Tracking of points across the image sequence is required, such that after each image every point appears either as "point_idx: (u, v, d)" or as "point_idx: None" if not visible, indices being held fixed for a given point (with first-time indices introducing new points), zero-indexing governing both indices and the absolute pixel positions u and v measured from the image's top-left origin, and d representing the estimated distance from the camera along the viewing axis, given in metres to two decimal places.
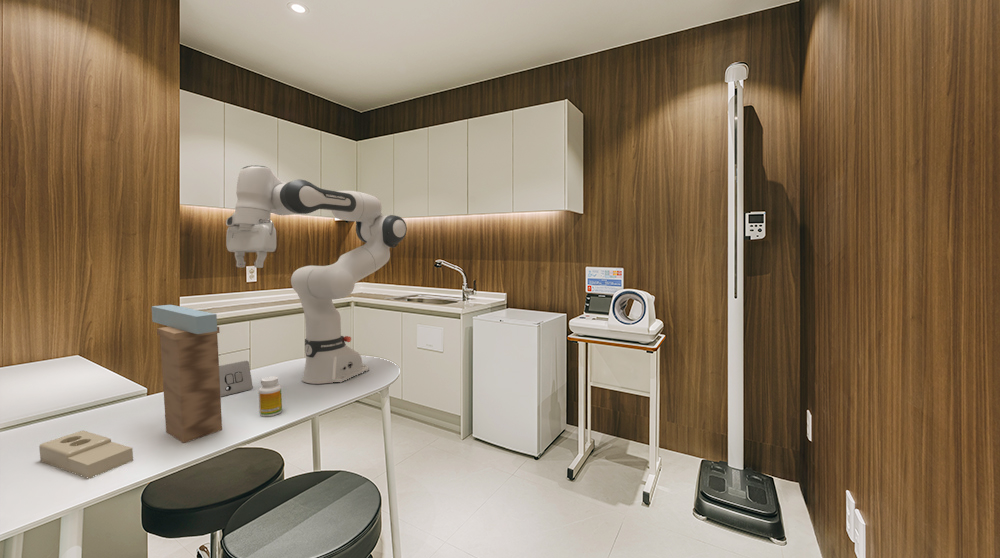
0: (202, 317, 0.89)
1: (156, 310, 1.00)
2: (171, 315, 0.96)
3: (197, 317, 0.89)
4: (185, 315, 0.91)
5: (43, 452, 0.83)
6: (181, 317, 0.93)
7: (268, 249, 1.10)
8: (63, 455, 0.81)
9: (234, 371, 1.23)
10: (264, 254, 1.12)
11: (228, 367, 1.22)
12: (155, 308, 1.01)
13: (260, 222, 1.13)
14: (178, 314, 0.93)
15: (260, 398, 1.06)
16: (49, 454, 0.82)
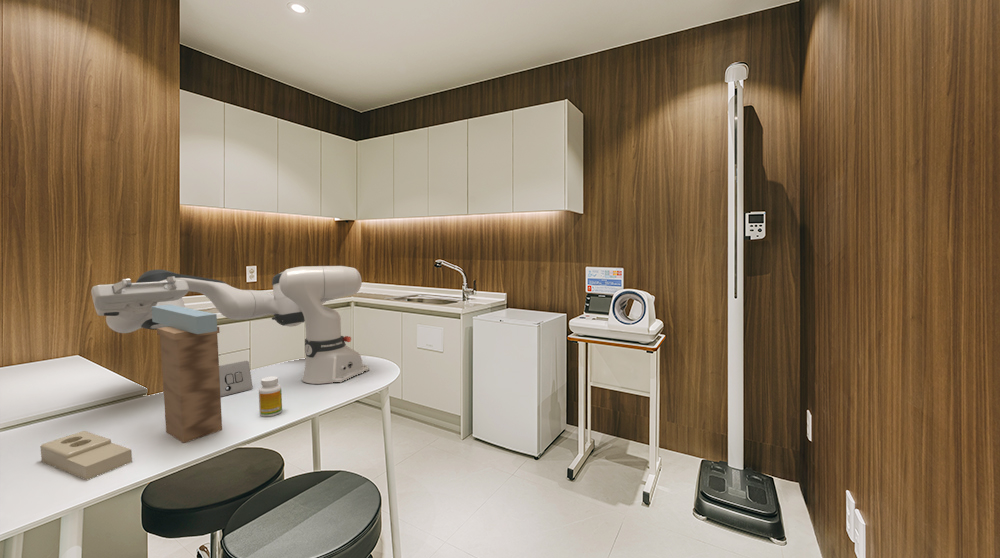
0: (202, 317, 0.89)
1: (156, 310, 1.00)
2: (171, 315, 0.96)
3: (197, 317, 0.89)
4: (185, 315, 0.91)
5: (44, 452, 0.83)
6: (181, 317, 0.93)
7: (187, 284, 1.18)
8: (62, 456, 0.80)
9: (234, 371, 1.23)
10: None
11: (228, 367, 1.22)
12: (155, 308, 1.01)
13: None
14: (178, 314, 0.93)
15: (260, 398, 1.06)
16: (49, 454, 0.82)
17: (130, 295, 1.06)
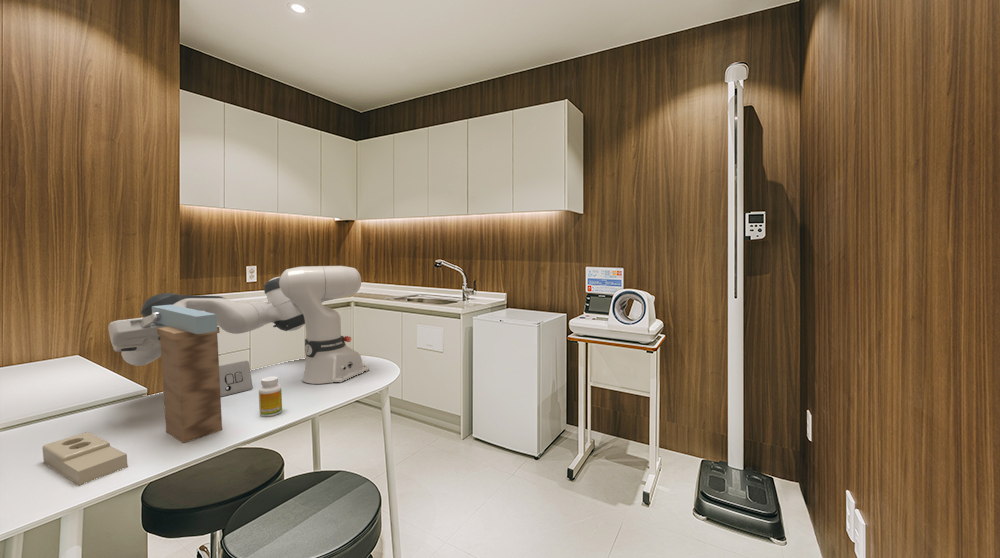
0: (202, 317, 0.89)
1: (156, 310, 1.00)
2: (171, 315, 0.96)
3: (197, 317, 0.89)
4: (185, 315, 0.91)
5: (45, 453, 0.83)
6: (181, 317, 0.93)
7: None
8: (60, 459, 0.79)
9: (234, 371, 1.23)
10: None
11: (228, 367, 1.22)
12: (155, 308, 1.01)
13: None
14: (178, 314, 0.93)
15: (260, 398, 1.06)
16: (49, 456, 0.82)
17: (149, 330, 1.00)
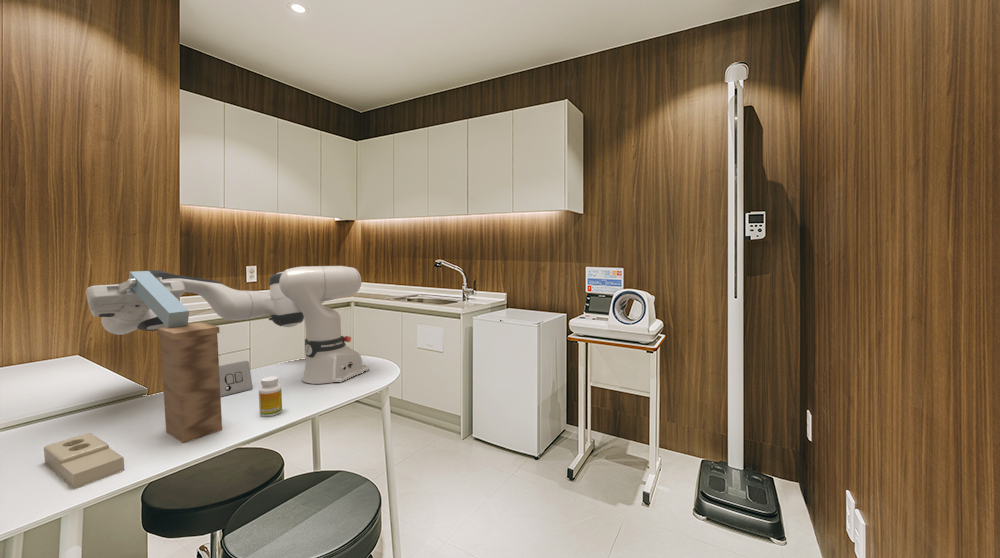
0: (175, 313, 0.95)
1: None
2: (147, 294, 1.01)
3: (170, 313, 0.94)
4: (159, 304, 0.97)
5: (46, 454, 0.82)
6: (155, 303, 0.98)
7: (183, 284, 1.17)
8: (58, 460, 0.79)
9: (234, 371, 1.23)
10: None
11: (228, 367, 1.22)
12: (133, 276, 1.05)
13: None
14: (153, 298, 0.99)
15: (260, 398, 1.06)
16: (49, 457, 0.81)
17: (125, 296, 1.05)
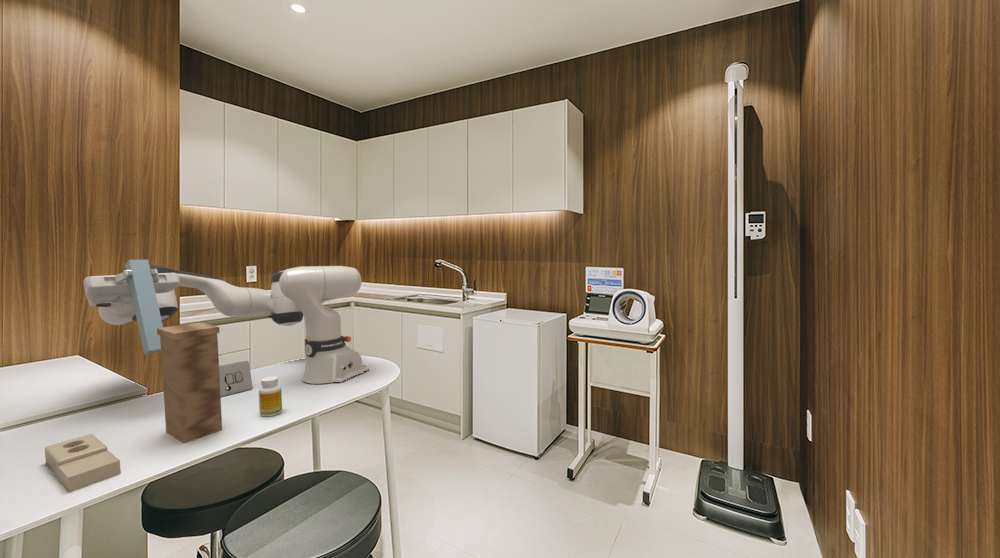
0: (154, 350, 1.06)
1: None
2: (137, 304, 1.07)
3: (149, 350, 1.06)
4: (144, 331, 1.06)
5: (46, 455, 0.82)
6: (141, 323, 1.07)
7: (178, 276, 1.20)
8: (56, 462, 0.78)
9: (234, 371, 1.23)
10: None
11: (228, 367, 1.22)
12: (130, 269, 1.08)
13: None
14: (141, 317, 1.07)
15: (260, 398, 1.06)
16: (49, 458, 0.81)
17: (122, 287, 1.09)
